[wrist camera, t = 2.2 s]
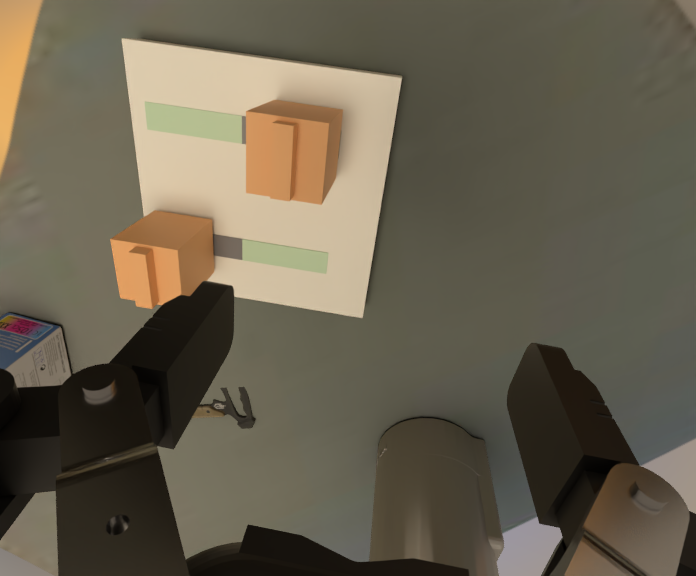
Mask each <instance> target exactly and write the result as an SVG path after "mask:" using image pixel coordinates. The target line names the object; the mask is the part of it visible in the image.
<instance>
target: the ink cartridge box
mask: <svg viewBox="0 0 696 576" xmlns="http://www.w3.org/2000/svg"><path fill="white" fill-rule="evenodd" d="M0 368H1V369H4V370H7V371H8V372H10V373H11V374H12V375H13V377H14V380H15V383H16V386H17V388H18V387H38V386H57V385H62V384H63V383H64V382H65V381H66V380H67V379H68V378H69V377H70V376H71V372H70V367H69V362H68V357H67V352H66V347H65V343H64V339H63V334H62V329H61V327H60V326H56V325H53V324H49V323H45V322H42V321H38V320H34V319H31V318H27V317H24V316H20V315H16V314H13V313H6V314H5V315H3V316H2V317H0Z"/></svg>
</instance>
